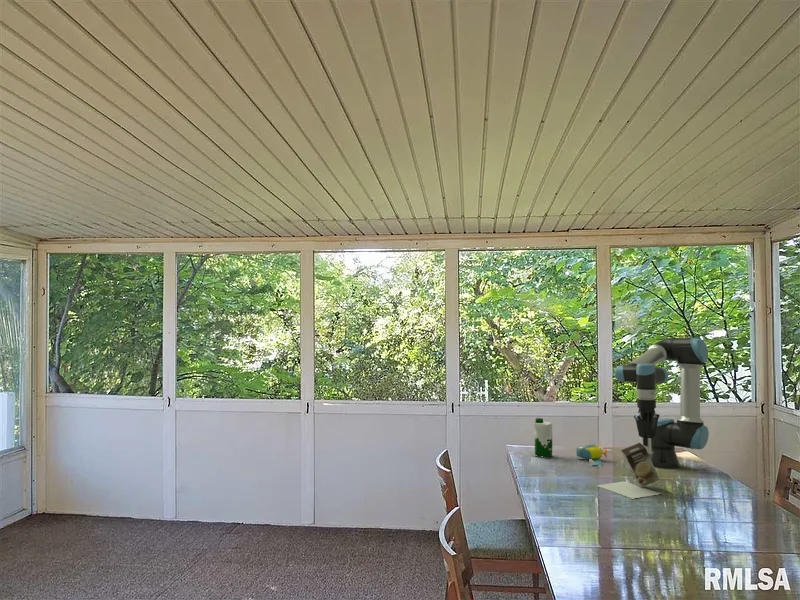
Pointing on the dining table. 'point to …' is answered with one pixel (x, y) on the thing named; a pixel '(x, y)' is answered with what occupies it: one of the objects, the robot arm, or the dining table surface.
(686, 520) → the dining table surface
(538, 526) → the dining table surface
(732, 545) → the dining table surface
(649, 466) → the coffee box
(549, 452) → the milk carton
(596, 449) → the yellow teal toy
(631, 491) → the mat
